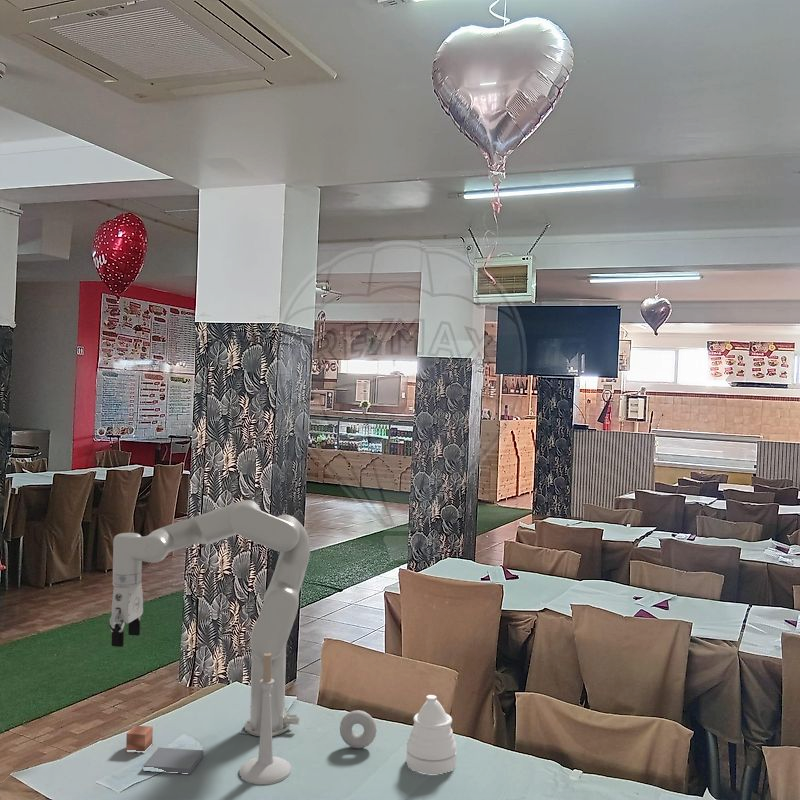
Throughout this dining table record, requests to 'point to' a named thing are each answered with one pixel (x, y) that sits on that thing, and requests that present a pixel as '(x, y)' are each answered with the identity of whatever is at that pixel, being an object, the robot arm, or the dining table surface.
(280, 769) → the candlestick
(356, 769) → the dining table surface
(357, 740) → the donut
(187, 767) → the slate board
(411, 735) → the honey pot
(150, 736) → the brown cube
